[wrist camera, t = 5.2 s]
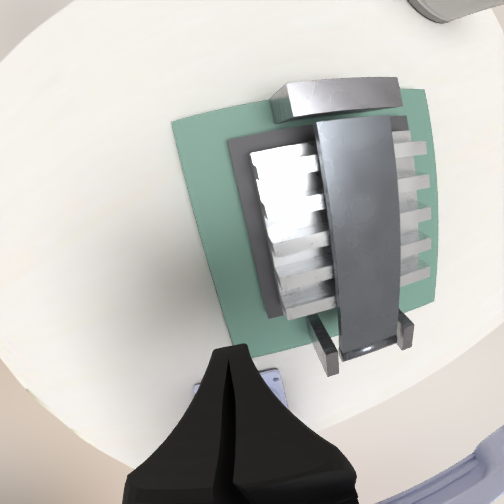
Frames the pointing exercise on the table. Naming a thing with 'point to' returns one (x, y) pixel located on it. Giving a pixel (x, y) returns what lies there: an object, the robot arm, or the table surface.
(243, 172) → the circuit board
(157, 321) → the table surface
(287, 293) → the heat sink
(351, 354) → the flat metal bar
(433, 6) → the travel mug
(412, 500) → the robot arm
